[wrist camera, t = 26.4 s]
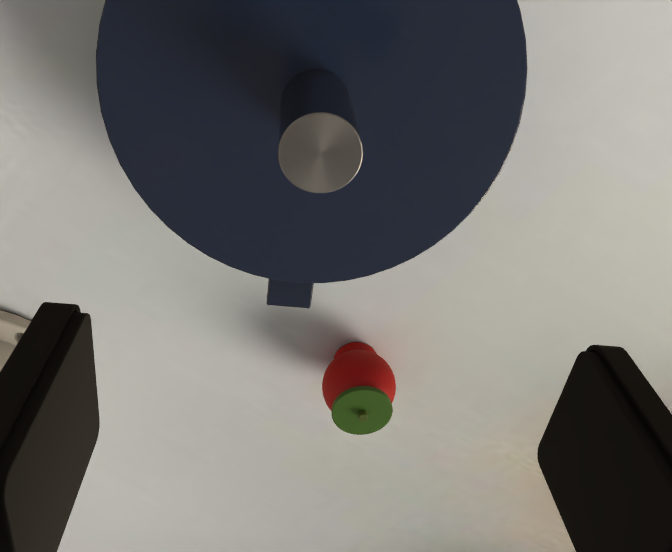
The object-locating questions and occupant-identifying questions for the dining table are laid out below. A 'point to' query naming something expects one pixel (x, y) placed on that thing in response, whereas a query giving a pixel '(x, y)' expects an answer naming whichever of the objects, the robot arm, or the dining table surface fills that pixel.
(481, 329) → the dining table surface
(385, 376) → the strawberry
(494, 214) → the dining table surface
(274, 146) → the lid
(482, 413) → the dining table surface
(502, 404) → the dining table surface
